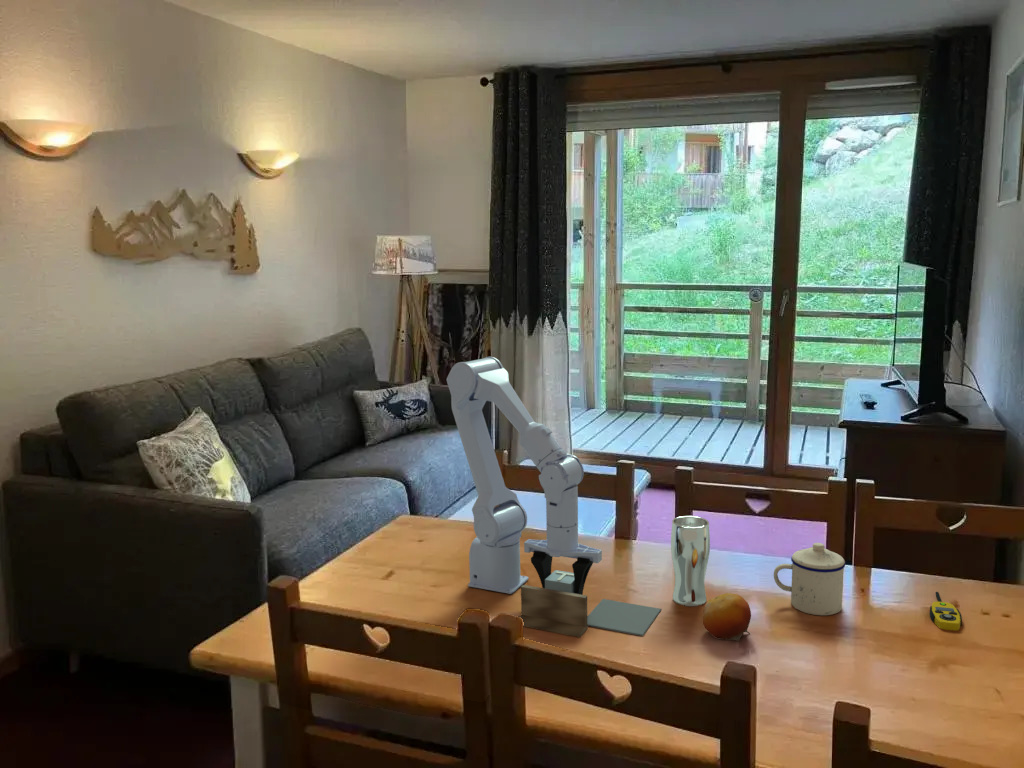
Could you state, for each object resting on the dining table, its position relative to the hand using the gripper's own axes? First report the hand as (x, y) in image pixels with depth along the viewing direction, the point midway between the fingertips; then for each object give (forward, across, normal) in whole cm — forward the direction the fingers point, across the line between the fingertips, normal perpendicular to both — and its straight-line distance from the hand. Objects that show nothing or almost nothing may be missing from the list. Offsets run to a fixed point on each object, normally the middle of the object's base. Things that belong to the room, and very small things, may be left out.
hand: (562, 593), depth 158 cm
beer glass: (+2, +21, +10) cm, 23 cm away
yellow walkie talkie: (+2, +63, +22) cm, 67 cm away
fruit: (+2, +30, -1) cm, 30 cm away
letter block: (+2, 0, 0) cm, 2 cm away
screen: (+2, +2, -10) cm, 11 cm away
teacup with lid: (+2, +41, +16) cm, 44 cm away
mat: (+2, +12, -2) cm, 12 cm away
